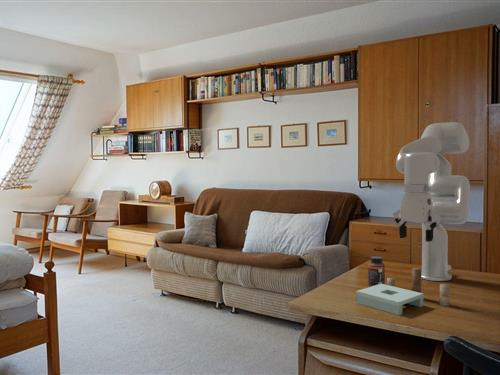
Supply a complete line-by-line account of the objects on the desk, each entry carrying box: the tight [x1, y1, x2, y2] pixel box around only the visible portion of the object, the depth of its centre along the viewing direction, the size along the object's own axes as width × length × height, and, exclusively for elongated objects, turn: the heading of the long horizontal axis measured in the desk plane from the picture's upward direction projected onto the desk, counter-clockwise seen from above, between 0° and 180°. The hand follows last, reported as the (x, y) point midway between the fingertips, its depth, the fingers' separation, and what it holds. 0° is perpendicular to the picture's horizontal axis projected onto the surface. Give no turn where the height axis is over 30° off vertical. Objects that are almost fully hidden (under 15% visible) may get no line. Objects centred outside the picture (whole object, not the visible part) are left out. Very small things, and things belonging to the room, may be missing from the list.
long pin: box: [411, 267, 422, 293], centre depth 153 cm, size 3×3×10 cm
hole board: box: [355, 283, 424, 316], centre depth 147 cm, size 14×16×4 cm
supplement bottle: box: [367, 255, 386, 287], centre depth 167 cm, size 6×6×11 cm
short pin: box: [386, 276, 397, 287], centre depth 161 cm, size 3×3×5 cm
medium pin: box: [439, 283, 451, 307], centre depth 146 cm, size 3×3×6 cm
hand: (415, 239), depth 152 cm, fingers open, 9 cm apart
